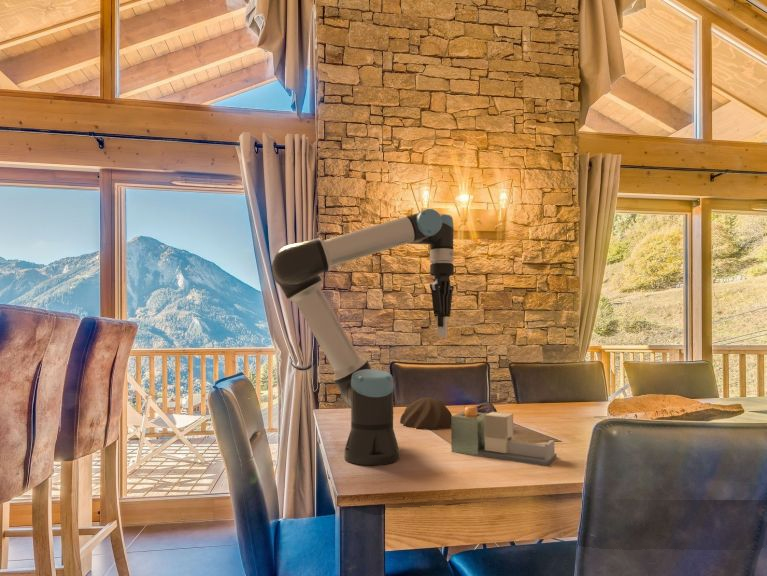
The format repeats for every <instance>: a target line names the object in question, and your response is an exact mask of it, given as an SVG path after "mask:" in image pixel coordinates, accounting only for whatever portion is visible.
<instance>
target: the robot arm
mask: <svg viewBox="0 0 767 576" xmlns="http://www.w3.org/2000/svg"><path fill="white" fill-rule="evenodd" d="M454 230H455V229H454V219H453V216H451V215H450V214H446V213H445V214H444V213H441V214H440V213H439V212H438V210H435V209H433V208H426V209H424V210H421V211H420V212H416V213H415V214H410V215H407V216H403V217H400V218H396V219H394V220H392V219H391V220H390V221H386V222H383V223H379V224H376V225H372V226H369V227H366V228H361V229H359V230H354V231H351V232H348V233H344V234H342V235H337V236H334V237H331V238H327V239H324V240H323V238H320V237H317V238H313V239H311V240H305V241H301V242H295V243H291V244H287V245H284V246H283V247H281V248H280V249H279V250H278V251H277V252H276V254H275V256H274V259H273V260H272V263H271V264H272V265H271V275H272V277H273V279H274V281H275V282H276V284H277V285H278V286H279V287H280V289H281V291H283V294H284V295H285V297H286V299H287V301H291V302H294V303H295V305H296V307H297V308H298V310H299V312H300V314H301V315H302V318H304V321H305V322H306V323H307V326H308V327H309V329H310V331H311V332H312V334H313V336H314V337H315V339H316V341H317V343H318V345H319V346H320V348H321V350H322V352H323V353H324V354H323V355H325V357H326V359H327V361H328V362H329V364H330V366H331V368H332V370H333V372H334V374H333V377H332V380H333V381H334V384H335V385H336V387H337V388H338V390H339V394H340V397H341V399H342V400H343V402H344V403H345V405H347V406H348V407H349V408H350V409H351V410H350V431H349V433H348V434H349V435H348V437H347V441H346V444H345V447H344V460H345V461H347V462H349V463H351V464H356V465H363V466H378V465H381V466H383V465H387V464H392V463H395V462H397V461H399V460H400V456H401V455H400V451H401V450H400V447H399V443H398V441H397V437H396V434H395V430H394V389H395V385H394V378H393V375H392V374H391V373H389V372H388V371H386V370H380V369H375V368H372V366H371V365H370V363H369V361H368V360H367V359H366V358H363V357H360V356H359V354H358V352H357V350H356V349H355V347H354V345H353V343H352V341H351V340H350V338H349V336H348V335H347V333H346V331H345V329H344V327H343V326H342V323H341V322H340V320H339V319H338V316H337V315H336V313H335V311H334V309H333V308H332V306H331V304H330V302H329V301H328V299H327V296H326V295H325V294H324V292H323V290H322V284H323V280H322V278H321V276H320V275H322V274H324V273H327V272H330V270H331V268H332V267H335V266H338V265H341V264H345V263H347V262H350V261H354V260H358V259H361V258H364V257H368V256H370V255H374V254H377V253H381V252H383V251H384V252H385V251H386V250H390V249H393V248H396V247H399V246H403V245H406V244H407V245H412V244H413V245H429V262H430V263H431V264H430V265H429V274H430V276H432V277H433V283H430V284H429V288H430V292H431V293H430V294H431V300H432V310H433V316H434V317H435V318H436V317H437V322H436V323H437V332H436V333H437V338H448V317H449V318H450V317H451V313H452V311H451V310H452V301H453V291H454V285H451V279H450V277H451V276H454V273H455V272H454V271H455V270H454V269H455V266H454V265H455V264H453V263H454V256H455V252H454Z"/></svg>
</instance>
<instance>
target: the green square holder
mask: <svg viewBox="0 0 767 576" xmlns="http://www.w3.org/2000/svg"><path fill="white" fill-rule="evenodd" d="M486 414H488V413H478V412H477V417H470V416H465V410H464V411H462V412H459V413H455V414H453V415H452V416H451V426H450V427H451V428H450V433H451V438H450V440H451V442H450V443H451V446H450V447H451V453H452V452H453V453H458V452H459V454H464V453H465V454H466V455H472V456H477V455H478V451H480V450H482V449H484V448H485V415H486Z"/></svg>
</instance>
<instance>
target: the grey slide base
mask: <svg viewBox="0 0 767 576" xmlns="http://www.w3.org/2000/svg"><path fill="white" fill-rule="evenodd" d="M507 441H508V452H507V453H500V452H493V451H486V450H485V448H484V449H482V450H480V451H478V456H479V457H486V458H492V459H496V460H497V459H498V460H505V461H510V460H511V461H513V462H517V463H526V464H529V465H530V464H531V465H536V464H537V465H538V466H543V465H544V467H548V466H549V465H550V464H551V463H552V462H553V461H555V460H556V458H557V453H555V440H554V439H550V440H548V441H547V442H546V443H539V442H532V441H525V440H524V441H523V440H518V439H517V440H516V439H513V440H509V439H507ZM511 461H510V462H511Z"/></svg>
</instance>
